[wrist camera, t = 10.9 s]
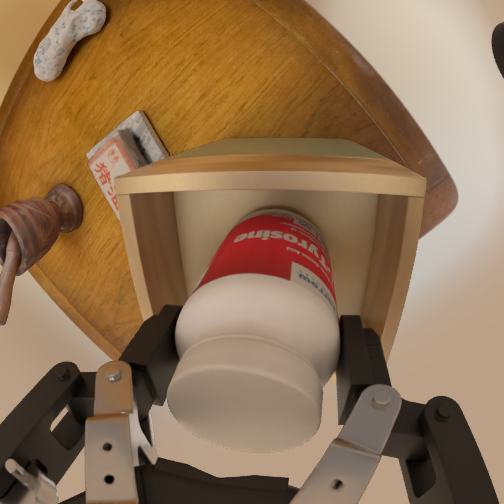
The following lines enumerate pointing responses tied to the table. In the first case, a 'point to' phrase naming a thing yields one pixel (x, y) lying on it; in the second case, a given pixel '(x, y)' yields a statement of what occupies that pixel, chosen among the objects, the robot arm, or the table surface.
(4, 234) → the mortar and pestle
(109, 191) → the packaged product
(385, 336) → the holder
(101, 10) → the decorative stone
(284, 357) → the pill bottle
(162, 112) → the table surface
